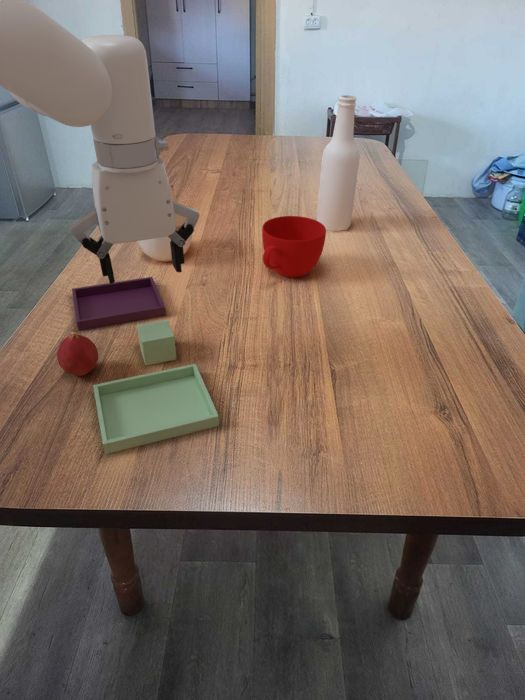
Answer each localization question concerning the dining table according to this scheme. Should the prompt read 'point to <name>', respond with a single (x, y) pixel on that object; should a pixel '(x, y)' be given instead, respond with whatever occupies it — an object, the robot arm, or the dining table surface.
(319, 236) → the ceramic cup
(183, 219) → the lidded bowl
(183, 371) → the sage tray
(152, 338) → the sage block
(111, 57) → the robot arm
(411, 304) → the dining table surface
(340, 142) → the alcohol
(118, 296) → the plum tray
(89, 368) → the red pomegranate
